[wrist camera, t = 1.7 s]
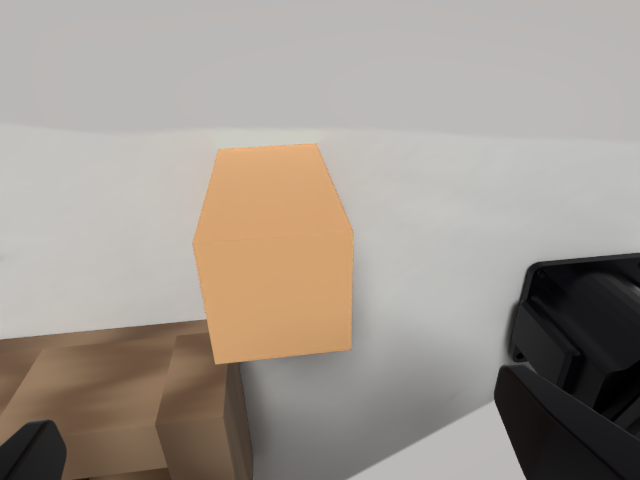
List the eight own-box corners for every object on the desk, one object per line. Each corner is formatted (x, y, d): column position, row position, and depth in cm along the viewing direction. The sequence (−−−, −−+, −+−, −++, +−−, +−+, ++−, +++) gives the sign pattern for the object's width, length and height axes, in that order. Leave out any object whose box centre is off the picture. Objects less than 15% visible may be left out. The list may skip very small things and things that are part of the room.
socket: (231, 317, 22) (223, 416, 16) (253, 458, 27) (252, 567, 22) (-4, 340, 21) (-94, 454, 15) (66, 482, 26) (17, 604, 21)
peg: (316, 143, 18) (353, 230, 11) (318, 229, 20) (351, 349, 13) (218, 149, 18) (192, 243, 11) (230, 236, 20) (215, 364, 13)
